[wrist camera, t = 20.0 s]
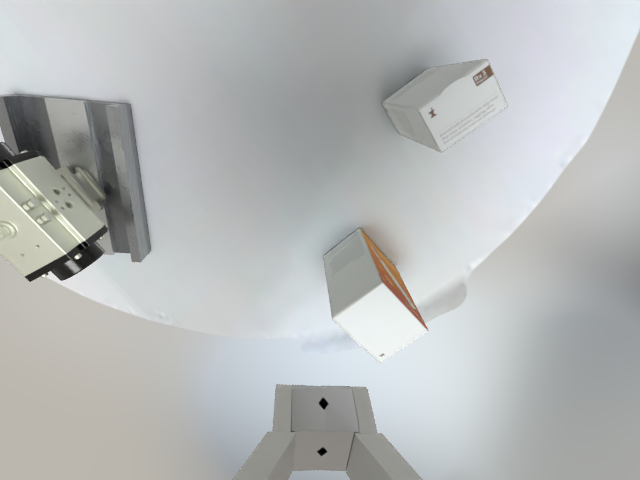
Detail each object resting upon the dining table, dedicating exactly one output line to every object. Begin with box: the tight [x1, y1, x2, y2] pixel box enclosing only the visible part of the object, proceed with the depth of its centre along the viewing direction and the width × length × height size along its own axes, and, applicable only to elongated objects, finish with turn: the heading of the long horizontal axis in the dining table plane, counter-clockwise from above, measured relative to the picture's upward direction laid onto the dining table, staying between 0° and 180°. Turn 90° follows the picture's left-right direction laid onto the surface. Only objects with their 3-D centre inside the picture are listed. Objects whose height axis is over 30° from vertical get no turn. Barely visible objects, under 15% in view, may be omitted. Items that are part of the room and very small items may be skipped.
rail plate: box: [0, 94, 151, 262], centre depth 37 cm, size 17×11×3 cm, turn 175°
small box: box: [323, 228, 428, 362], centre depth 39 cm, size 8×6×13 cm
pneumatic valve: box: [0, 142, 109, 282], centre depth 31 cm, size 6×12×12 cm, turn 27°
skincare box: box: [382, 59, 508, 152], centre depth 31 cm, size 6×4×12 cm
